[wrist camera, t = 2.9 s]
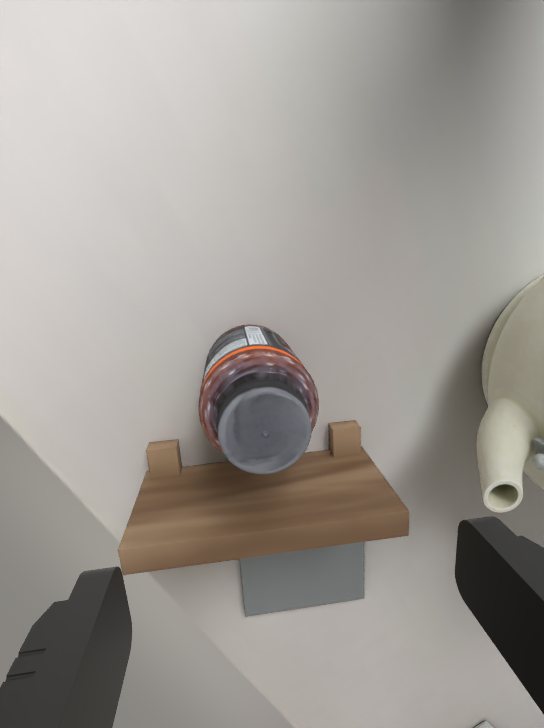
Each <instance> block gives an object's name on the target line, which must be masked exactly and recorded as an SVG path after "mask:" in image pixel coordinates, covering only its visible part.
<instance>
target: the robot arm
mask: <svg viewBox="0 0 544 728" xmlns="http://www.w3.org/2000/svg"><path fill="white" fill-rule="evenodd" d="M455 578H456V583H457V586H458V589H459V592H460V594H461V597H462V598H463V600H464V602H465V603H466V605H467V606H468V608H469V609H470V610H471V612H472V613H473V615H474V616H475V617H476V619H477V620H478V622H479V623H480V625H481V626H482V627H483V629H484V630H485V632H486V633H487V635H488V636H489V637H490V639H491V640H492V642H493V643H494V644H495V646H496V647H497V649H498V650H499V652H500V653H501V654H502V656H503V657H504V659H505V660H506V662H507V663H508V664H509V666H510V667H511V669H512V670H513V671H514V673H515V674H516V676H517V677H518V679H519V680H520V681H521V683H522V684H523V686H524V687H525V688H526V690H527V691H528V693H529V694H530V696H531V697H532V698H533V700H534V701H535V703H536V704H537V706H538V707H539V708H540V710H541V711H542V713H543V714H544V548H543V547H541V546H539V545H537V544H536V543H534V542H532V541H530V540H529V539H527V538H525V537H523V536H519V537H517V536H516V535H515V534H514V533H513V532H512V531H511V530H510V529H509V528H507V527H506V526H505V525H504V524H503V523H502V522H501V521H500V520H499V519H497V518H496V517H483V518H476V519H469V520H463V521H461V522H460V524H459V526H458V537H457V551H456V564H455ZM131 641H132V622H131V616H130V611H129V606H128V601H127V596H126V591H125V586H124V580H123V575H122V572H121V569H120V568H119V567H112V568H105V569H97V570H90V571H84V572H83V573H81V574H80V576H79V578H78V580H77V582H76V584H75V586H74V589H73V591H72V593H71V595H70V598H69V600H65V601H59V602H54V603H53V604H52V605H51V606H50V608H49V609H48V610H47V611H46V612H45V613H44V614H43V615H42V616H41V617H40V618H39V620H38V621H37V622H36V623H35V624H34V625H33V626H32V628H31V630H30V632H29V634H28V636H27V637H26V639H25V641H24V643H23V645H22V647H21V649H20V651H19V656H18V658H16V659H15V660H14V662H13V664H12V666H11V668H10V670H9V672H8V674H7V678H6V681H5V682H3V684H2V685H1V687H0V728H112V726H113V722H114V717H115V714H116V709H117V705H118V701H119V697H120V693H121V688H122V684H123V680H124V676H125V672H126V667H127V663H128V659H129V655H130V649H131Z"/></svg>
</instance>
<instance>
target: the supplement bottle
mask: <svg viewBox="0 0 544 728" xmlns="http://www.w3.org/2000/svg"><path fill="white" fill-rule="evenodd" d="M318 400H319V399H318V393H317V389H316V387H315V384H314V381H313V380H312V378H311V376H310V374H309V373H308V372H307V370H306V369H305V367H304V366H303V364H302V363H301V362H300V360H299V359H298V358H297V357H296V356H295V354H294V353H293V351H292V350H291V349H290V347H289V346H288V344H287V343H286V342H285V341H284V340H283V339H282V338H281V337H280V336H279V335H278V334H276V333H275V332H273V331H272V330H270V329H268V328H265V327H262V326H257V325H242V326H238V327H235V328H232V329H230V330H229V331H227V332H225V333H224V334H222V335H221V336H220V337H219V338H218V339H217V340H216V342H215V343H214V344H213V346H212V348H211V349H210V351H209V354H208V357H207V361H206V366H205V370H204V376H203V381H202V386H201V391H200V398H199V416H200V421H201V425H202V428H203V430H204V432H205V434H206V436H207V438H208V439H209V441H210V442H211V443H212V444H213V445H214V446H215V448H216V449H218V450H219V451H220V452H222V453H223V454H224V455H225V456H226V458H227V459H228V460H229V461H230V462H231V463H232V464H233V465H234V466H236V467H238V468H239V469H241V470H244V471H246V472H249V473H253V474H272V473H276V472H279V471H282V470H284V469H286V468H288V467H290V466H291V465H292V464H294V463H295V462H296V461H297V460H298V459H299V458H300V457H301V456H302V454H303V453H304V452H305V450H306V449H307V446H308V444H309V441H310V438H311V432H312V430H313V428H314V426H315V423H316V420H317V416H318V410H319V404H318V403H319V402H318Z"/></svg>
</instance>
